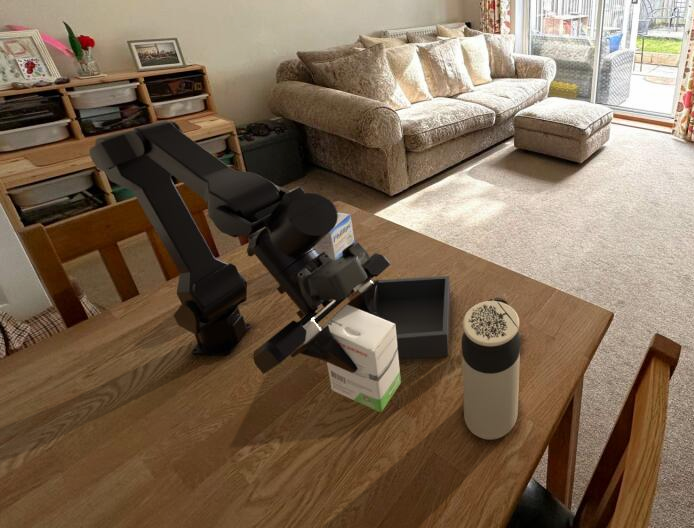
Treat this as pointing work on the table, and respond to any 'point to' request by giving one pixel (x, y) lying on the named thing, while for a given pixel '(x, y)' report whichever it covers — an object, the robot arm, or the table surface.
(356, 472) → the table surface
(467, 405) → the travel mug
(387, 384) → the ink box
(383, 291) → the open storage tray
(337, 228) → the medicine box
